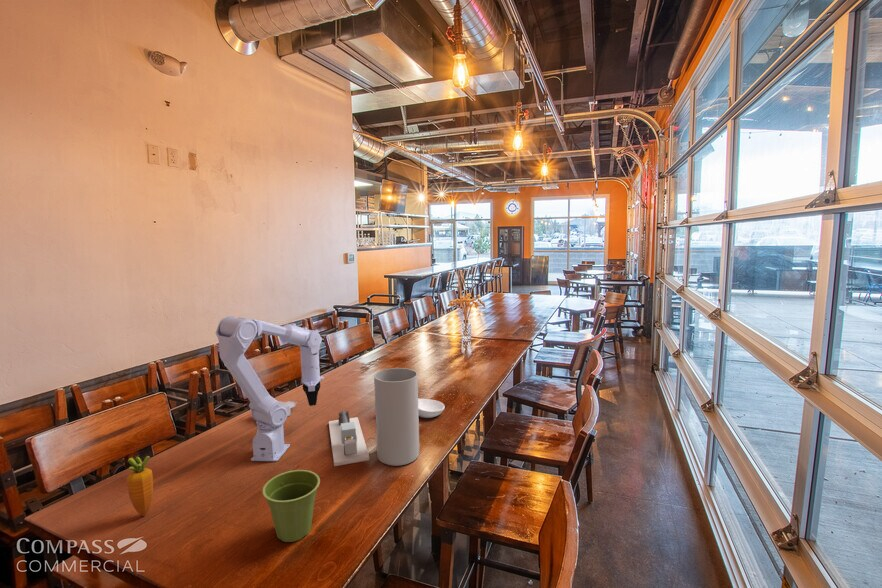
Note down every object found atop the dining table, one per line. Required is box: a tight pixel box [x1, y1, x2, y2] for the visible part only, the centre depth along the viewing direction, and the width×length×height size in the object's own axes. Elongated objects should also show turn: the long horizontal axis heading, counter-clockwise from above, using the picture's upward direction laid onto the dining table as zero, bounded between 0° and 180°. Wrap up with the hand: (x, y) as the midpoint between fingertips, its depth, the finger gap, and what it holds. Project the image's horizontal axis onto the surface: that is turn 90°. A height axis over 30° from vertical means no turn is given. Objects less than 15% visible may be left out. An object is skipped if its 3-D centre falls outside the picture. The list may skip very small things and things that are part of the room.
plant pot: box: [262, 469, 321, 543], centre depth 92 cm, size 12×12×11 cm
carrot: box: [126, 455, 154, 517], centre depth 97 cm, size 5×5×15 cm
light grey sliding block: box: [340, 422, 357, 444], centre depth 127 cm, size 5×4×4 cm
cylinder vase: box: [373, 367, 420, 467], centre depth 122 cm, size 12×12×25 cm
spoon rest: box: [418, 397, 446, 419], centre depth 152 cm, size 24×12×7 cm, turn 95°
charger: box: [277, 400, 298, 418], centre depth 154 cm, size 5×9×15 cm
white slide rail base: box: [328, 410, 370, 467], centre depth 134 cm, size 29×10×6 cm, turn 18°
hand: (312, 404), depth 139 cm, fingers closed
